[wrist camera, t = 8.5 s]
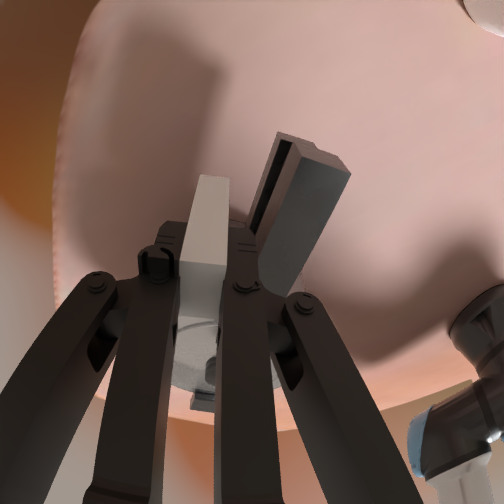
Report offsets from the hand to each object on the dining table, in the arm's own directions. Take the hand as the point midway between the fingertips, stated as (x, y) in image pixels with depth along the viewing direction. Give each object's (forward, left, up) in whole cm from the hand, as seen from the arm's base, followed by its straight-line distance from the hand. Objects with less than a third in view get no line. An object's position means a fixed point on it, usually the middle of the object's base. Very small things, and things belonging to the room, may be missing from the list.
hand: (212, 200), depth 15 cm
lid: (-12, +1, -1) cm, 12 cm away
